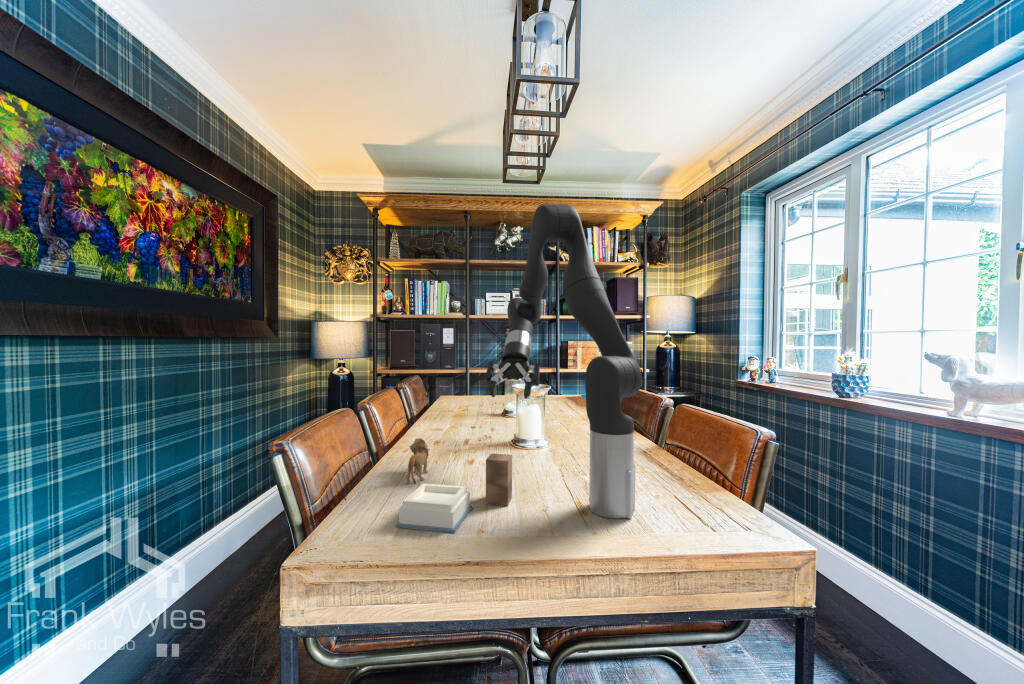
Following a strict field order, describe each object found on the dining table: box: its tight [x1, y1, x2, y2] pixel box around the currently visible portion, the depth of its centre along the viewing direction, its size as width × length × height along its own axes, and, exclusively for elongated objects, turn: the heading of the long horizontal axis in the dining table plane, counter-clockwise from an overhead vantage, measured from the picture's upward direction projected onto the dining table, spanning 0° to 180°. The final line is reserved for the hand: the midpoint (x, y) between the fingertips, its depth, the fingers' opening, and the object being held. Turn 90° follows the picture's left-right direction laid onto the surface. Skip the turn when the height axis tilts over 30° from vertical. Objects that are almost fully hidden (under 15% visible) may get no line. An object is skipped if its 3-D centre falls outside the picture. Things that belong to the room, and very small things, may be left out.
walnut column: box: [485, 452, 513, 507], centre depth 93 cm, size 5×5×10 cm
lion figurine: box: [406, 438, 429, 486], centre depth 109 cm, size 15×5×9 cm, turn 10°
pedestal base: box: [395, 482, 474, 534], centre depth 84 cm, size 12×12×5 cm
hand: (509, 396), depth 104 cm, fingers open, 8 cm apart
